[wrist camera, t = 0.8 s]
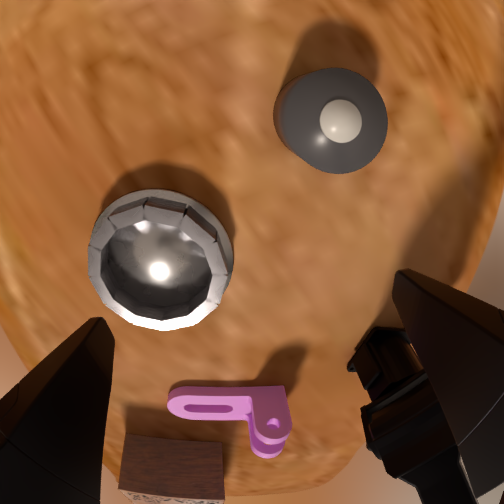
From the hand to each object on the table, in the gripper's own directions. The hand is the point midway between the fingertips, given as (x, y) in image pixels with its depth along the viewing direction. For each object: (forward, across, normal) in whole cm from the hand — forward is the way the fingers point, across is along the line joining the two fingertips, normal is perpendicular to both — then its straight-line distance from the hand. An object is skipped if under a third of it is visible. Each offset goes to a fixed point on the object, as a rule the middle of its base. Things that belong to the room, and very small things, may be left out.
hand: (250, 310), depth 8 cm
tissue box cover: (+13, +18, +46) cm, 52 cm away
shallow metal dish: (+13, +6, +5) cm, 15 cm away
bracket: (+13, +5, +24) cm, 28 cm away
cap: (+13, -6, -4) cm, 15 cm away
